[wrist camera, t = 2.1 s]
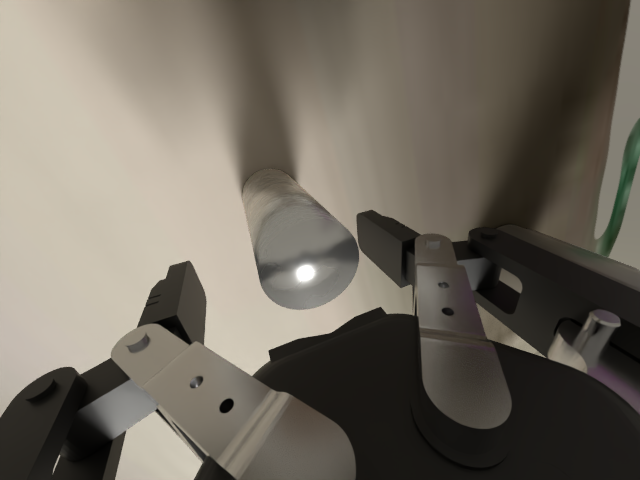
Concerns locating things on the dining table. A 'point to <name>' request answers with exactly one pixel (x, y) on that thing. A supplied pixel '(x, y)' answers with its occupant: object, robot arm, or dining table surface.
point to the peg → (296, 242)
